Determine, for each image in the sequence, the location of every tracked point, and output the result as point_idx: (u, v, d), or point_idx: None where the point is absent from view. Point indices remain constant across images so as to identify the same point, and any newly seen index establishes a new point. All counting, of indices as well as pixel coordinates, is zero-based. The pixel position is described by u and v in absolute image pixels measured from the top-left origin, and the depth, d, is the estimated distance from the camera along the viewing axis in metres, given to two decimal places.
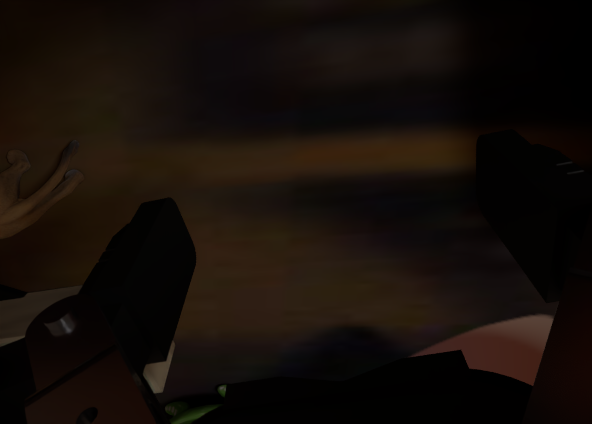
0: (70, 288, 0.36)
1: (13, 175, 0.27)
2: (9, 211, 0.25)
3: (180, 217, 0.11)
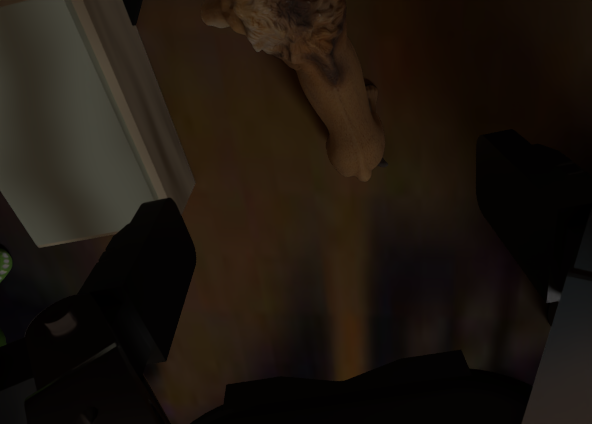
0: (161, 96, 0.26)
1: None
2: (370, 173, 0.22)
3: (180, 217, 0.11)
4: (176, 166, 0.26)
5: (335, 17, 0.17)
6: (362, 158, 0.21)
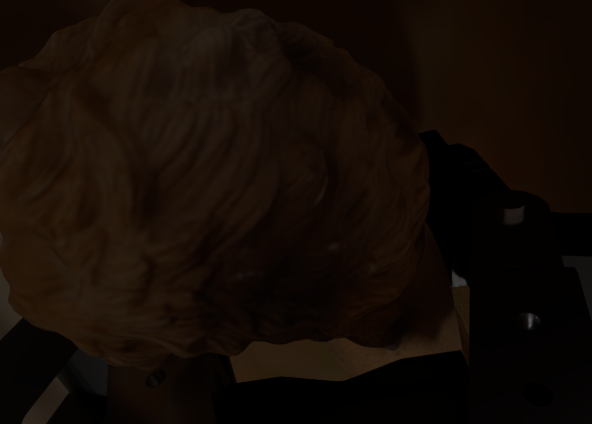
0: None
1: None
2: None
3: None
4: None
5: (410, 226, 0.05)
6: None
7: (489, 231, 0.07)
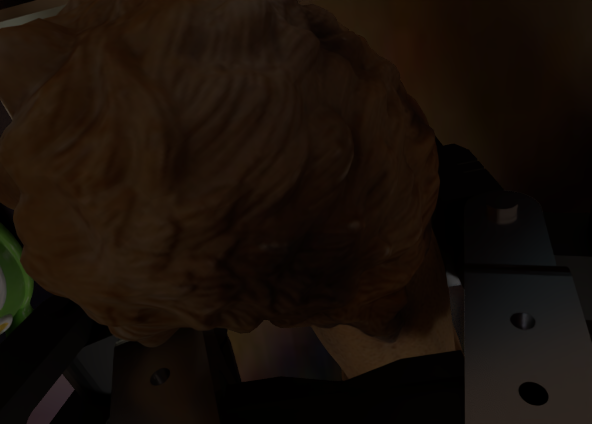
0: None
1: None
2: None
3: None
4: None
5: (420, 215, 0.05)
6: None
7: (482, 231, 0.07)
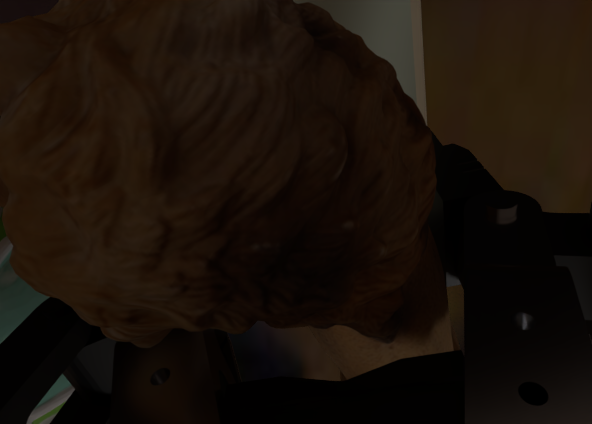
0: None
1: None
2: None
3: None
4: None
5: (417, 215, 0.05)
6: None
7: (482, 231, 0.07)
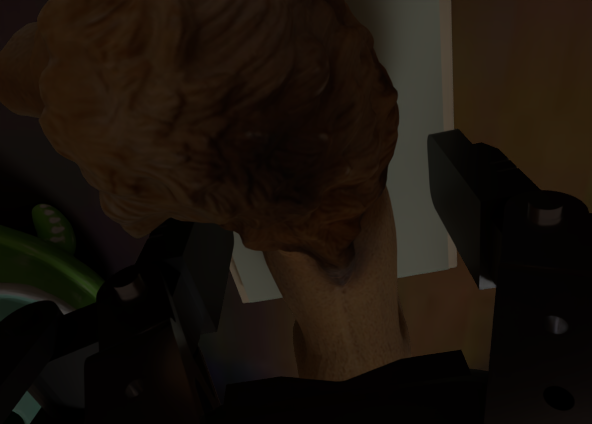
0: None
1: None
2: None
3: None
4: None
5: (379, 158, 0.06)
6: None
7: (522, 231, 0.07)
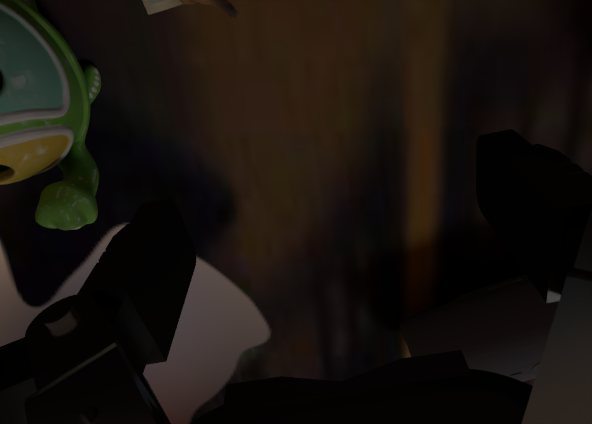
0: None
1: None
2: None
3: (180, 217, 0.11)
4: None
5: None
6: None
7: None
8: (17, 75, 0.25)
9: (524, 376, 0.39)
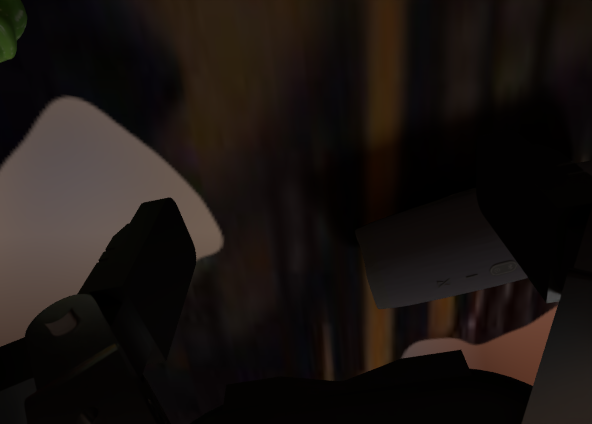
0: None
1: None
2: None
3: (180, 217, 0.11)
4: None
5: None
6: None
7: None
8: None
9: (480, 280, 0.37)
